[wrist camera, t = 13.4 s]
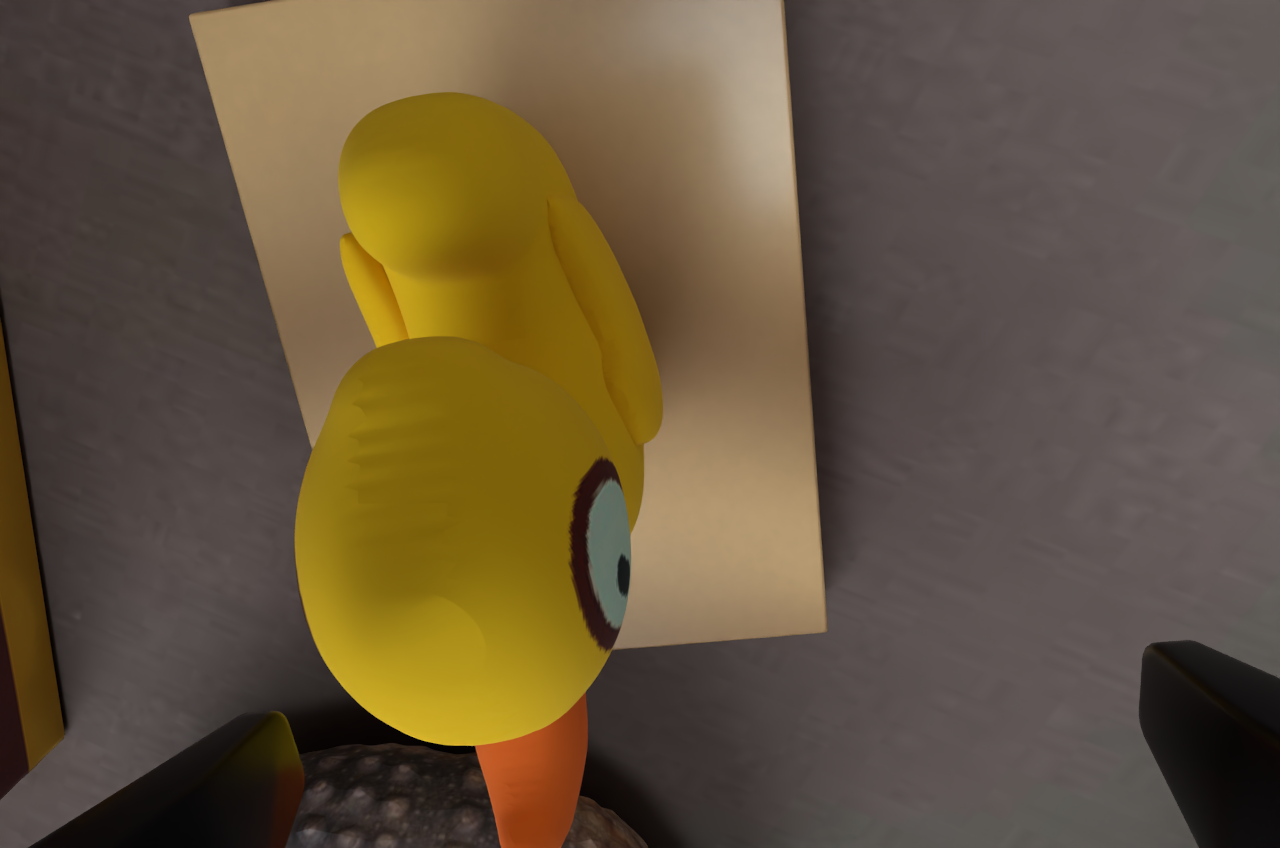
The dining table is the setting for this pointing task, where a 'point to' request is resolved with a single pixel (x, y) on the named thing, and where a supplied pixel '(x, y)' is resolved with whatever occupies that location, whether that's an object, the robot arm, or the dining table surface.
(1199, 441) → the dining table surface
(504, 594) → the duckling
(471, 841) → the sea urchin shell
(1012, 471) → the dining table surface
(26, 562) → the supplement box
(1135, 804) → the dining table surface
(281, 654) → the dining table surface
